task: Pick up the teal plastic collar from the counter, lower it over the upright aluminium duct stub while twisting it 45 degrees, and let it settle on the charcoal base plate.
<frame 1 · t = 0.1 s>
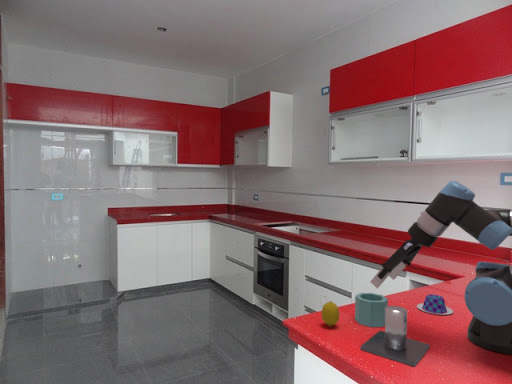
hand: (382, 280, 112), 15 cm above the countertop, tool tilted 35°, fingers open, 13 cm apart
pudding: (434, 311, 131), on the countertop
lemon: (330, 327, 114), on the countertop
collar: (370, 321, 119), on the countertop
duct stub: (395, 348, 99), on the countertop
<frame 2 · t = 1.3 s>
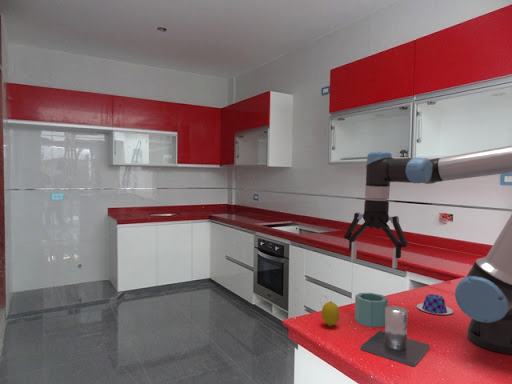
hand: (373, 264, 118), 19 cm above the countertop, tool pointing down, fingers open, 13 cm apart
nothing on the countertop moved.
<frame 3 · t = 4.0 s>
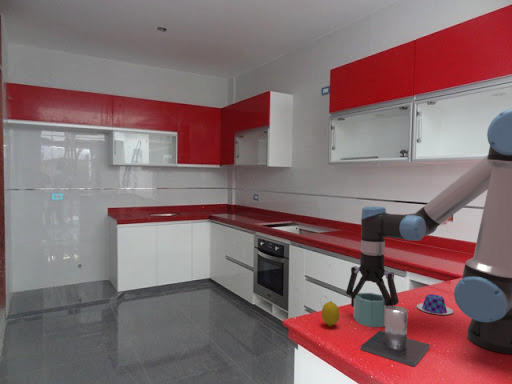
hand: (370, 320, 119), 0 cm above the countertop, tool pointing down, fingers closed on collar, 9 cm apart
collar: (370, 321, 119), on the countertop, touching gripper
everything else where it was.
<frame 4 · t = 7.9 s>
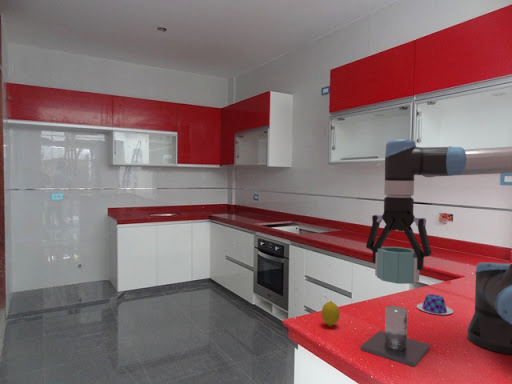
hand: (396, 278, 99), 20 cm above the countertop, tool pointing down, fingers closed on collar, 9 cm apart
collar: (396, 278, 99), point 19 cm above the countertop, touching gripper
everything else where it was.
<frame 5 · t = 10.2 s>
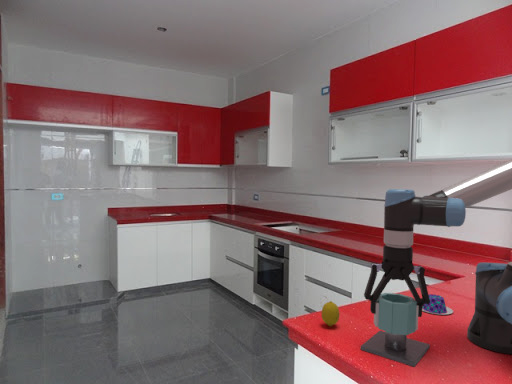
hand: (395, 326, 99), 6 cm above the countertop, tool pointing down, fingers closed on collar, 9 cm apart
collar: (395, 327, 99), point 6 cm above the countertop, touching gripper
everything else where it was.
when the fingers open (3 cm above the countertop, at t = 11.9 s): collar drops 2 cm, resting on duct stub.
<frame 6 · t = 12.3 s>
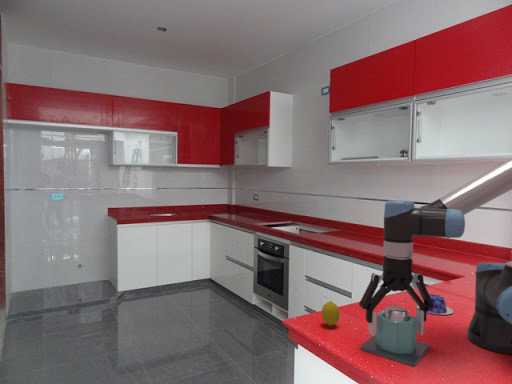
hand: (395, 333, 99), 4 cm above the countertop, tool pointing down, fingers open, 13 cm apart
collar: (395, 345, 99), point 1 cm above the countertop, touching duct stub
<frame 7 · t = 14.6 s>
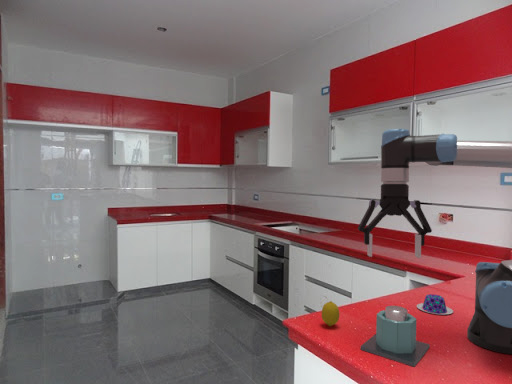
hand: (393, 256, 104), 24 cm above the countertop, tool pointing down, fingers open, 13 cm apart
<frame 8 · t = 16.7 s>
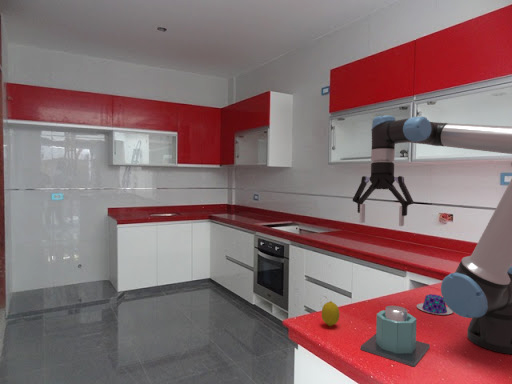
hand: (381, 224, 123), 32 cm above the countertop, tool pointing down, fingers open, 13 cm apart
at the end: collar 0.0 cm off-centre on the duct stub, point 1.0 cm above the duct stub's base; collar tilted 0°; the gripper is holding nothing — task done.
